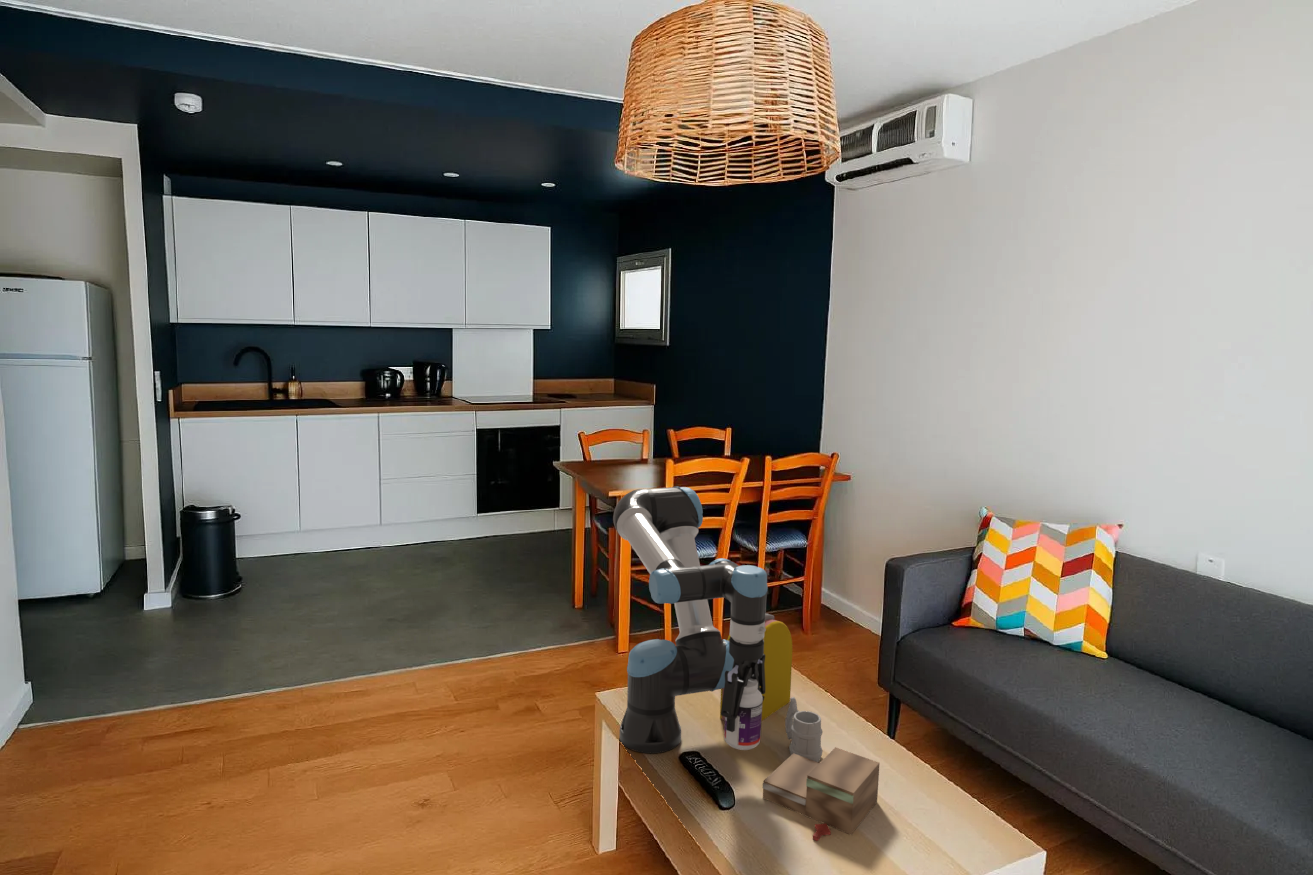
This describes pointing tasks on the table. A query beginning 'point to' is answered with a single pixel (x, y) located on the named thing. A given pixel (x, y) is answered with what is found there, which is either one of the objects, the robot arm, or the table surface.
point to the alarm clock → (774, 667)
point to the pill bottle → (749, 717)
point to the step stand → (826, 789)
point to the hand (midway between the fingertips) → (742, 734)
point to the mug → (803, 732)
